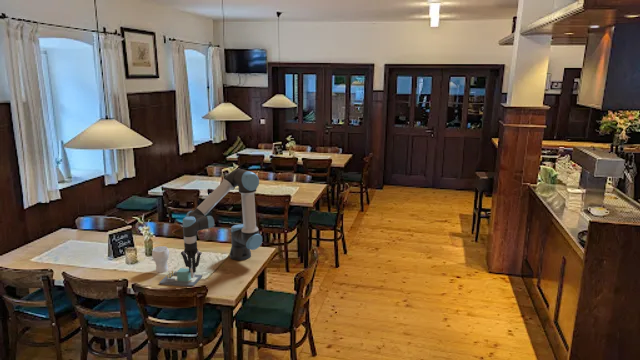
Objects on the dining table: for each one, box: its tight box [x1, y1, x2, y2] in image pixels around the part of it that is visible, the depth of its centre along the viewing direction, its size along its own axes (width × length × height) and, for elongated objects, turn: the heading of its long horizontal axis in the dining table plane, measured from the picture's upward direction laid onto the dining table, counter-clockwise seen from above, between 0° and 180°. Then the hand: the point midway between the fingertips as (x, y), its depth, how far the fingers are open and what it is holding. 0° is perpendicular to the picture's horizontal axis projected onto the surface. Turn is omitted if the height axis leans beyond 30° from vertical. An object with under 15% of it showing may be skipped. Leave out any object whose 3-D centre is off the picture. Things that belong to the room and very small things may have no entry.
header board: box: [158, 269, 203, 288], centre depth 281 cm, size 22×14×5 cm, turn 82°
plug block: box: [176, 267, 191, 281], centre depth 280 cm, size 7×6×6 cm
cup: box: [151, 245, 170, 274], centre depth 294 cm, size 11×11×15 cm
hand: (192, 276), depth 279 cm, fingers closed
